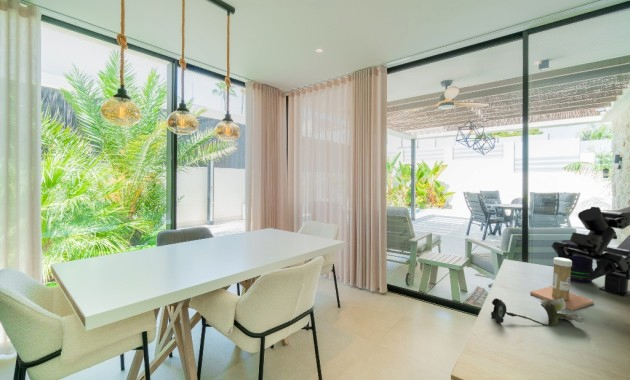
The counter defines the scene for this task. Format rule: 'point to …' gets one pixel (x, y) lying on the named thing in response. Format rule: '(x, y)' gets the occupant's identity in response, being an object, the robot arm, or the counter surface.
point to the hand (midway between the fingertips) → (573, 273)
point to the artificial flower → (547, 304)
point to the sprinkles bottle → (561, 278)
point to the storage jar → (580, 266)
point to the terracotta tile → (571, 304)
